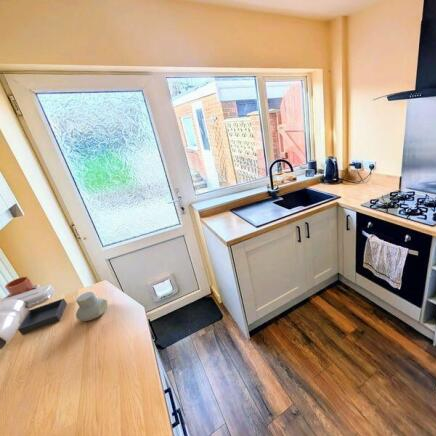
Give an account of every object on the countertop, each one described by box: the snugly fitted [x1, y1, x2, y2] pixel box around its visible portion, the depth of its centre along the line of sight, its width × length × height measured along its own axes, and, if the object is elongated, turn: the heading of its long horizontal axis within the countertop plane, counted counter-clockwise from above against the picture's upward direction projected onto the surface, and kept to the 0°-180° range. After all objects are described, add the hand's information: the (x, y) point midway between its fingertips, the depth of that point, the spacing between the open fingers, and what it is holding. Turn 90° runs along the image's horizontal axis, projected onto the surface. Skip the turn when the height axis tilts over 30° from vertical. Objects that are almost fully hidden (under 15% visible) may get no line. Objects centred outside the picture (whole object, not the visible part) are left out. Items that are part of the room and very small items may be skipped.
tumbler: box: [4, 276, 35, 310], centre depth 96 cm, size 6×6×11 cm
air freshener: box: [75, 291, 108, 322], centre depth 102 cm, size 11×8×10 cm
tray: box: [17, 298, 68, 336], centre depth 105 cm, size 12×12×3 cm
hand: (25, 290), depth 96 cm, fingers closed on tumbler, 6 cm apart
